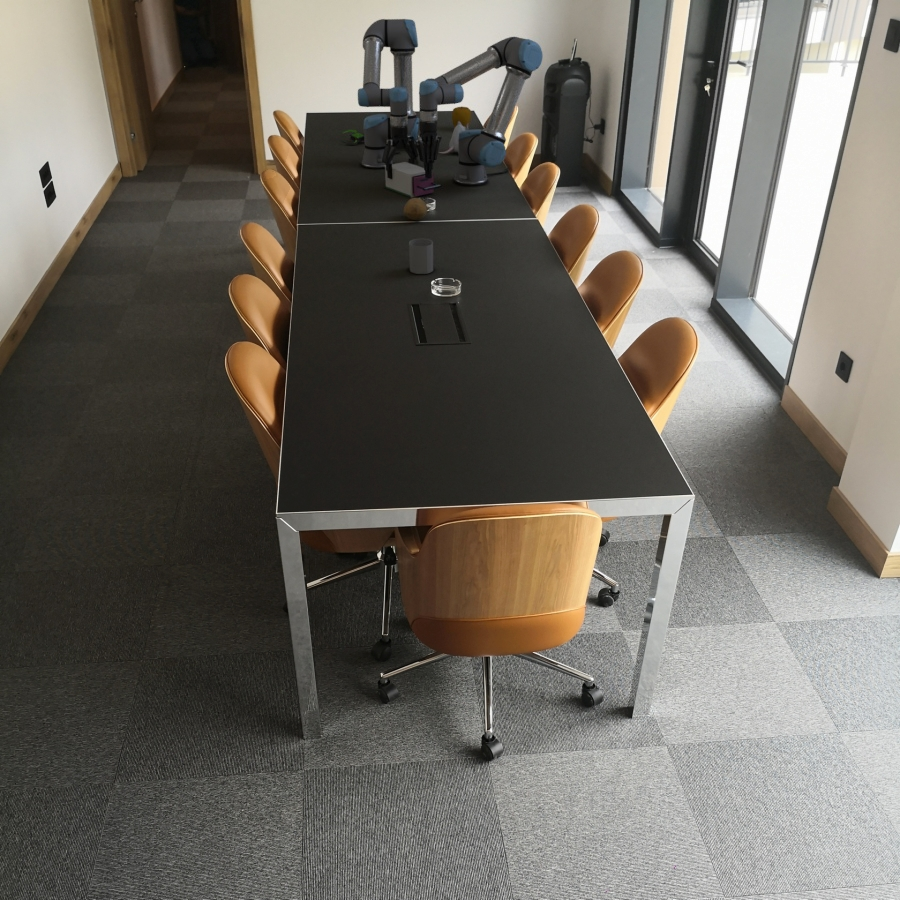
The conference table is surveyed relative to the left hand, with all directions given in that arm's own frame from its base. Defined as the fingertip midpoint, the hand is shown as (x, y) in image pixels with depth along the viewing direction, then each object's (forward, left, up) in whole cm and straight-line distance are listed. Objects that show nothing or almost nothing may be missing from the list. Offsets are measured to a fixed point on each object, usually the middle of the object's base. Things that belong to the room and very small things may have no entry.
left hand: (400, 176), depth 392 cm
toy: (-62, -14, -5) cm, 64 cm away
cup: (+78, +68, -5) cm, 104 cm away
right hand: (+6, +20, +4) cm, 21 cm away
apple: (-110, -41, -5) cm, 118 cm away
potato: (+33, +32, -5) cm, 47 cm away
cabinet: (+1, +5, -5) cm, 8 cm away
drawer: (+3, +11, -4) cm, 12 cm away
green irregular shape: (-58, -66, -5) cm, 88 cm away
